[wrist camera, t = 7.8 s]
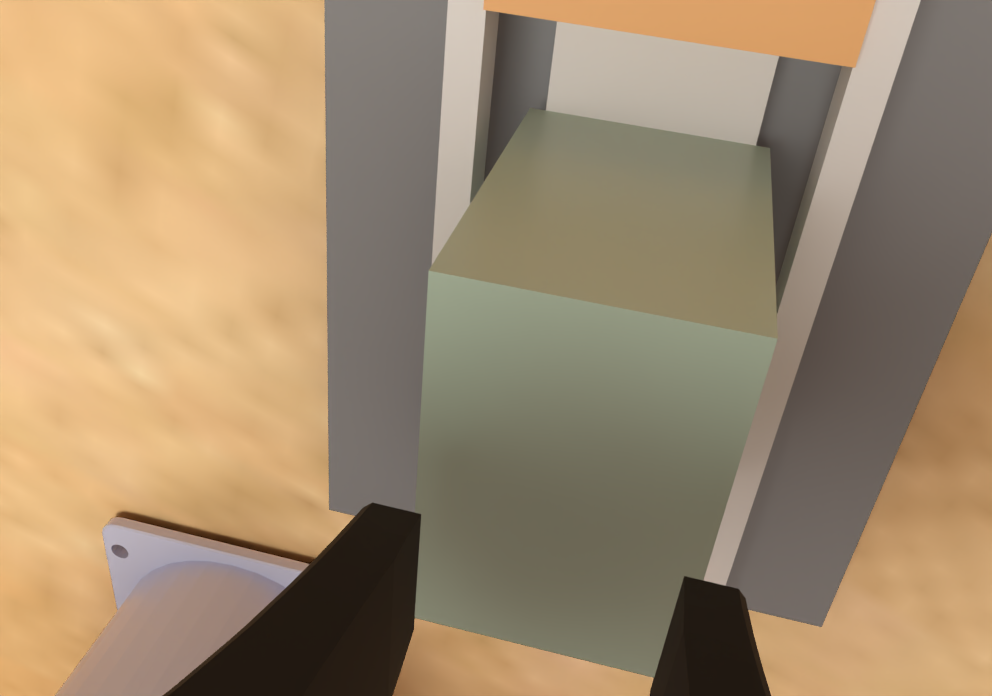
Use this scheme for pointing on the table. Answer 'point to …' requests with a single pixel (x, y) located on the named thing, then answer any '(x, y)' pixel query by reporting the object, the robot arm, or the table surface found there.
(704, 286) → the block
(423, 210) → the rail board
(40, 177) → the table surface
